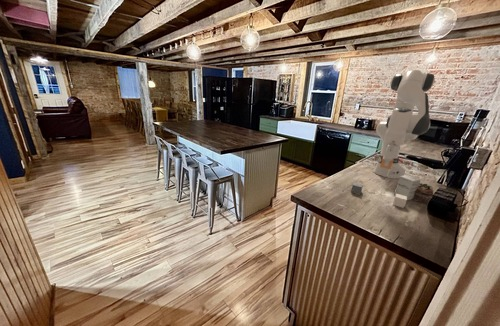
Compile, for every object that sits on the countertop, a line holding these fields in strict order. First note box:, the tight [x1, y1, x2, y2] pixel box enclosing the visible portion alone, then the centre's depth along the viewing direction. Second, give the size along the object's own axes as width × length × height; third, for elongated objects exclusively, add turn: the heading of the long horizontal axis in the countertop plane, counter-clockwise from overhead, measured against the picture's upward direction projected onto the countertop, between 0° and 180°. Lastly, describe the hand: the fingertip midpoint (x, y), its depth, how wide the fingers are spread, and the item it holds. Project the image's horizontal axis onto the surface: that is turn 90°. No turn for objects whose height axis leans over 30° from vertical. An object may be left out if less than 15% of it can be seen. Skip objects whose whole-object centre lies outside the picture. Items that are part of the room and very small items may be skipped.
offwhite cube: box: [392, 194, 408, 209], centre depth 112 cm, size 5×5×5 cm
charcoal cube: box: [350, 181, 364, 196], centre depth 123 cm, size 5×5×5 cm
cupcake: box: [412, 182, 434, 204], centre depth 117 cm, size 10×10×10 cm
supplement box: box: [394, 174, 422, 201], centre depth 119 cm, size 7×7×13 cm
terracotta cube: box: [380, 156, 394, 169], centre depth 111 cm, size 5×5×5 cm
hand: (386, 164), depth 111 cm, fingers closed on terracotta cube, 5 cm apart
